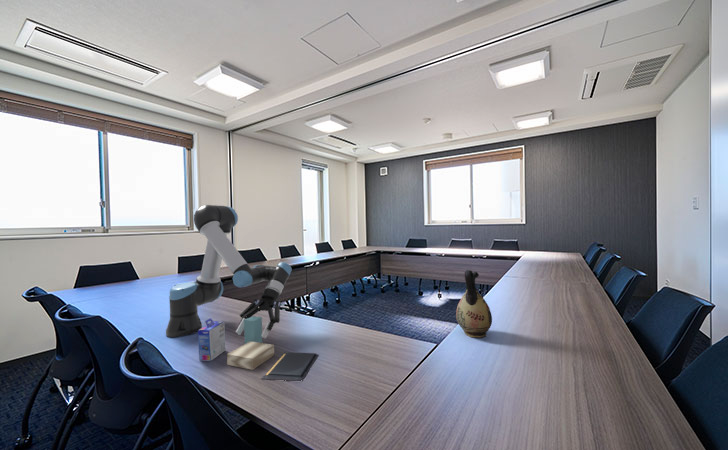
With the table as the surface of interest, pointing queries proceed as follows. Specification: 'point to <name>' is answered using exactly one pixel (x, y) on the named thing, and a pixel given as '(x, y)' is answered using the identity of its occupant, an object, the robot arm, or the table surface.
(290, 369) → the wallet
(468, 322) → the ceramic jug
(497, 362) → the table surface
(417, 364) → the table surface
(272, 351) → the birch riser
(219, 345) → the ink cartridge box
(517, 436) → the table surface
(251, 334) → the teal block
